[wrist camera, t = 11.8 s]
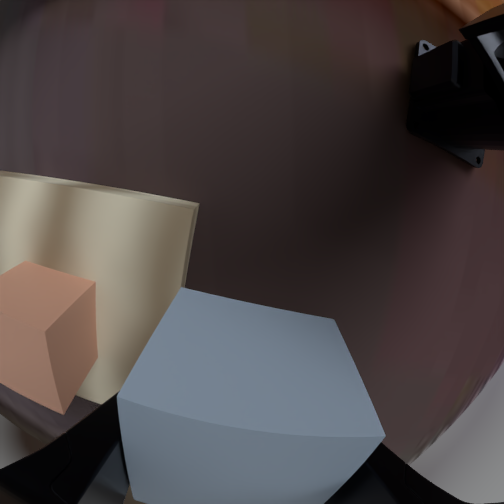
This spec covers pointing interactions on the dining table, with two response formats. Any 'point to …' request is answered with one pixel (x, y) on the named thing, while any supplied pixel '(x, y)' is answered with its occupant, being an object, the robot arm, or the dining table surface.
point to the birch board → (102, 257)
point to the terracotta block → (46, 333)
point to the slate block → (243, 407)
